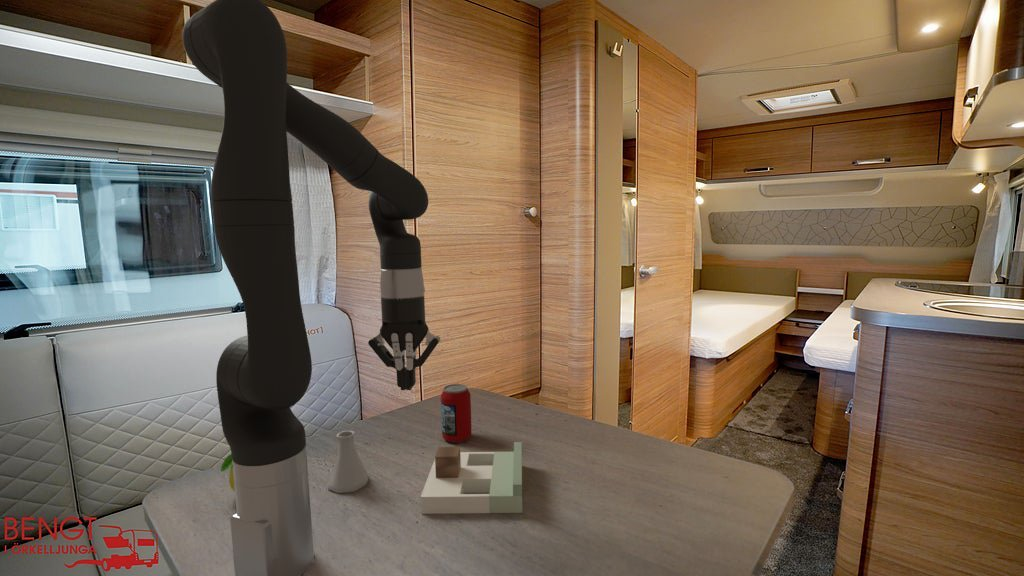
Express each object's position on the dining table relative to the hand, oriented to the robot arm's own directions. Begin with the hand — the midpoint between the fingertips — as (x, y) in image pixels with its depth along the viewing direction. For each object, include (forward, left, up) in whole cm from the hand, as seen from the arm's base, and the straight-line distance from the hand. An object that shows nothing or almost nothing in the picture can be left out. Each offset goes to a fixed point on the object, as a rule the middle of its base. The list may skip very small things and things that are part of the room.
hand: (406, 388), depth 87 cm
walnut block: (+2, -7, -16) cm, 17 cm away
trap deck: (+4, -11, -19) cm, 22 cm away
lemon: (-12, +27, -19) cm, 35 cm away
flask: (-3, +12, -19) cm, 23 cm away
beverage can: (+22, +2, -19) cm, 30 cm away
